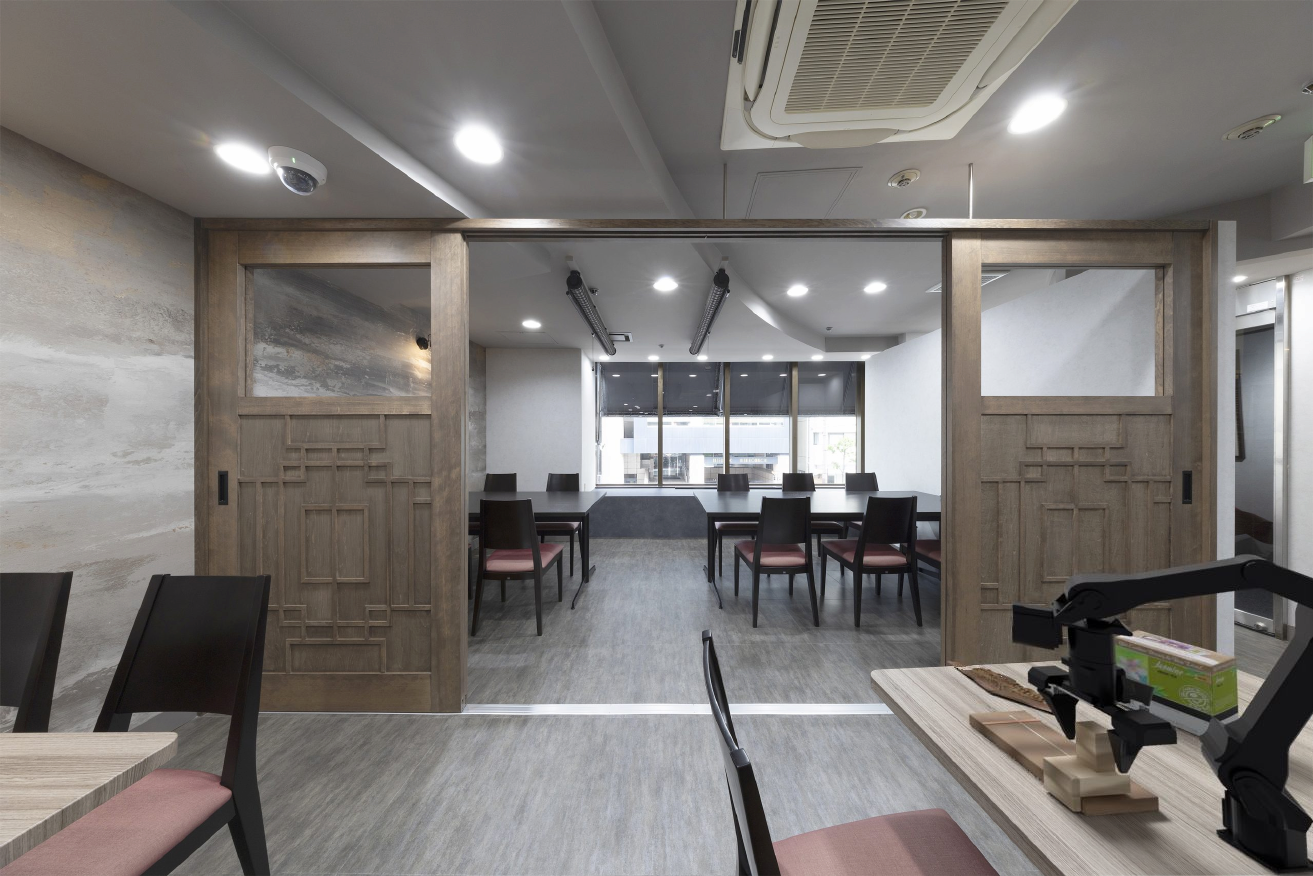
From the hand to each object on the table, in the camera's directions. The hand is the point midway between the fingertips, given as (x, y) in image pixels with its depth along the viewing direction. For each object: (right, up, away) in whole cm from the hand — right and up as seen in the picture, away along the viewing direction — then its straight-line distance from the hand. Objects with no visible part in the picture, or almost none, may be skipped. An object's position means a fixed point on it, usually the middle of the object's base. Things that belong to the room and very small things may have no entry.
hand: (1095, 755), depth 74 cm
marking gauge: (-2, -7, 0) cm, 7 cm away
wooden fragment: (+10, -8, +36) cm, 38 cm away
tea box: (+37, -7, +22) cm, 43 cm away
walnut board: (0, -7, +9) cm, 11 cm away
